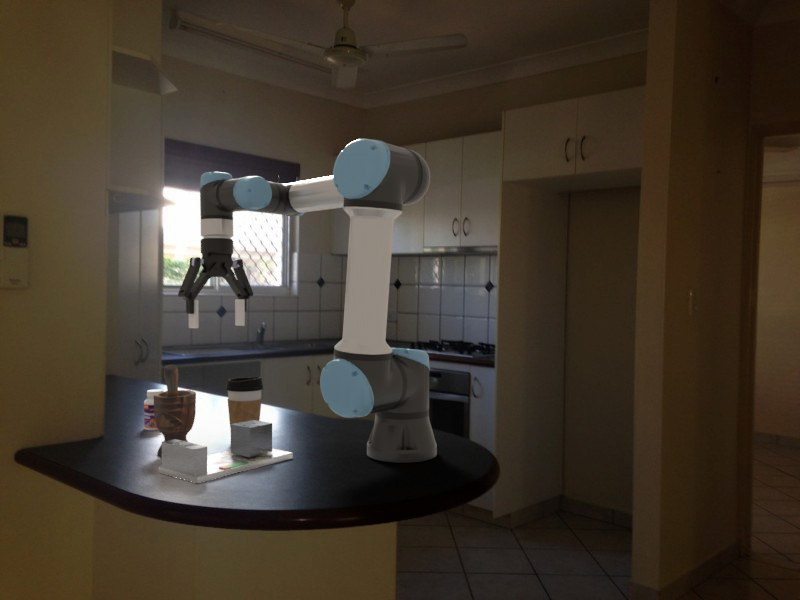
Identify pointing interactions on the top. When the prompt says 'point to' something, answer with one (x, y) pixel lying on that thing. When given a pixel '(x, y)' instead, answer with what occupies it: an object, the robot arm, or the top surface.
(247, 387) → the coffee cup
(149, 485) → the top surface
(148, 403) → the pill bottle
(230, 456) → the gauge base
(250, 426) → the grey rectangular block
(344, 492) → the top surface
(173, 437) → the mortar and pestle
